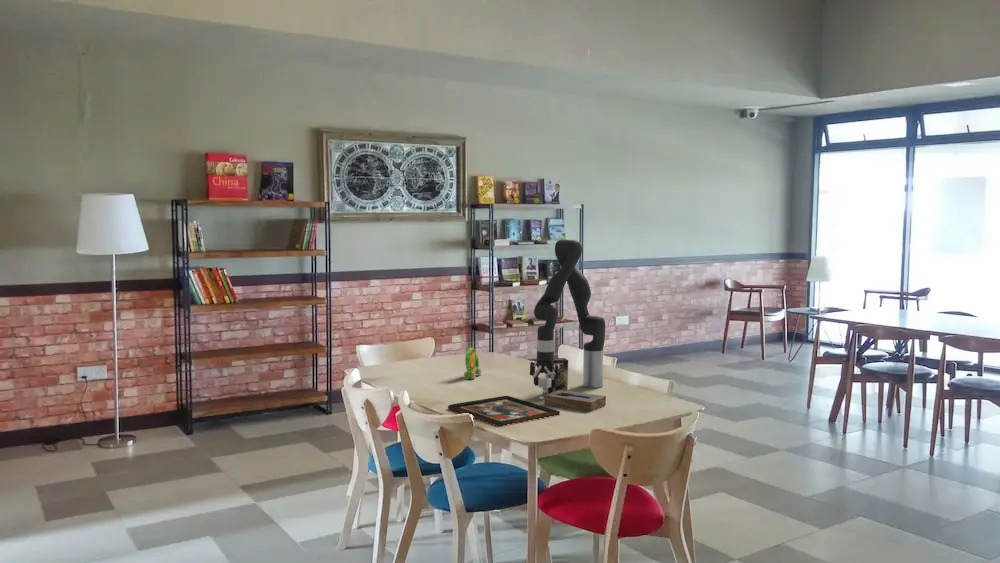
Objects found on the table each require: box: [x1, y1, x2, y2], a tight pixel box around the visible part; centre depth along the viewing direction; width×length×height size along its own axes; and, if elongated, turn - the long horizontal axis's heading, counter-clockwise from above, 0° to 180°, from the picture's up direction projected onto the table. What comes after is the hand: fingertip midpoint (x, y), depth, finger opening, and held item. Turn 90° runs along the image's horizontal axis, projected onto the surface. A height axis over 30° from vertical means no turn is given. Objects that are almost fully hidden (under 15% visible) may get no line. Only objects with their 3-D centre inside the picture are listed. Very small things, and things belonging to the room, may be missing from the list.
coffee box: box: [544, 357, 569, 394], centre depth 365 cm, size 9×6×16 cm
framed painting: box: [447, 395, 561, 427], centre depth 331 cm, size 38×35×3 cm
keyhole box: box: [543, 390, 607, 413], centre depth 344 cm, size 14×22×4 cm, turn 56°
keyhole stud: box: [538, 376, 551, 401], centre depth 354 cm, size 4×4×10 cm
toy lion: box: [463, 347, 482, 380], centre depth 401 cm, size 16×5×15 cm, turn 164°
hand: (544, 386), depth 354 cm, fingers open, 8 cm apart
